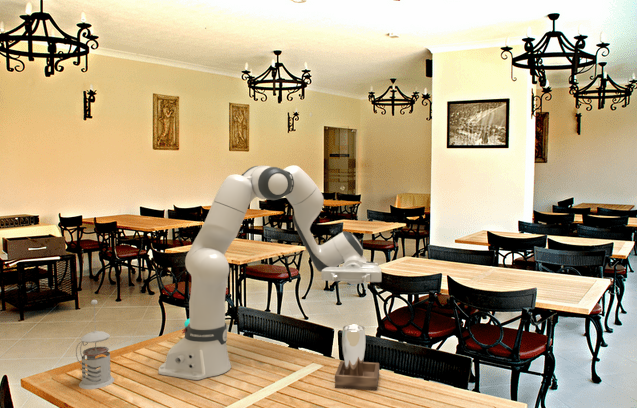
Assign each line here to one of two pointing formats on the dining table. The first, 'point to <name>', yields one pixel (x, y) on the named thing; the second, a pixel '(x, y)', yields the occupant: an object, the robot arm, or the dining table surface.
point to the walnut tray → (358, 377)
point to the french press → (95, 360)
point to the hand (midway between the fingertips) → (349, 279)
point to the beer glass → (353, 349)
